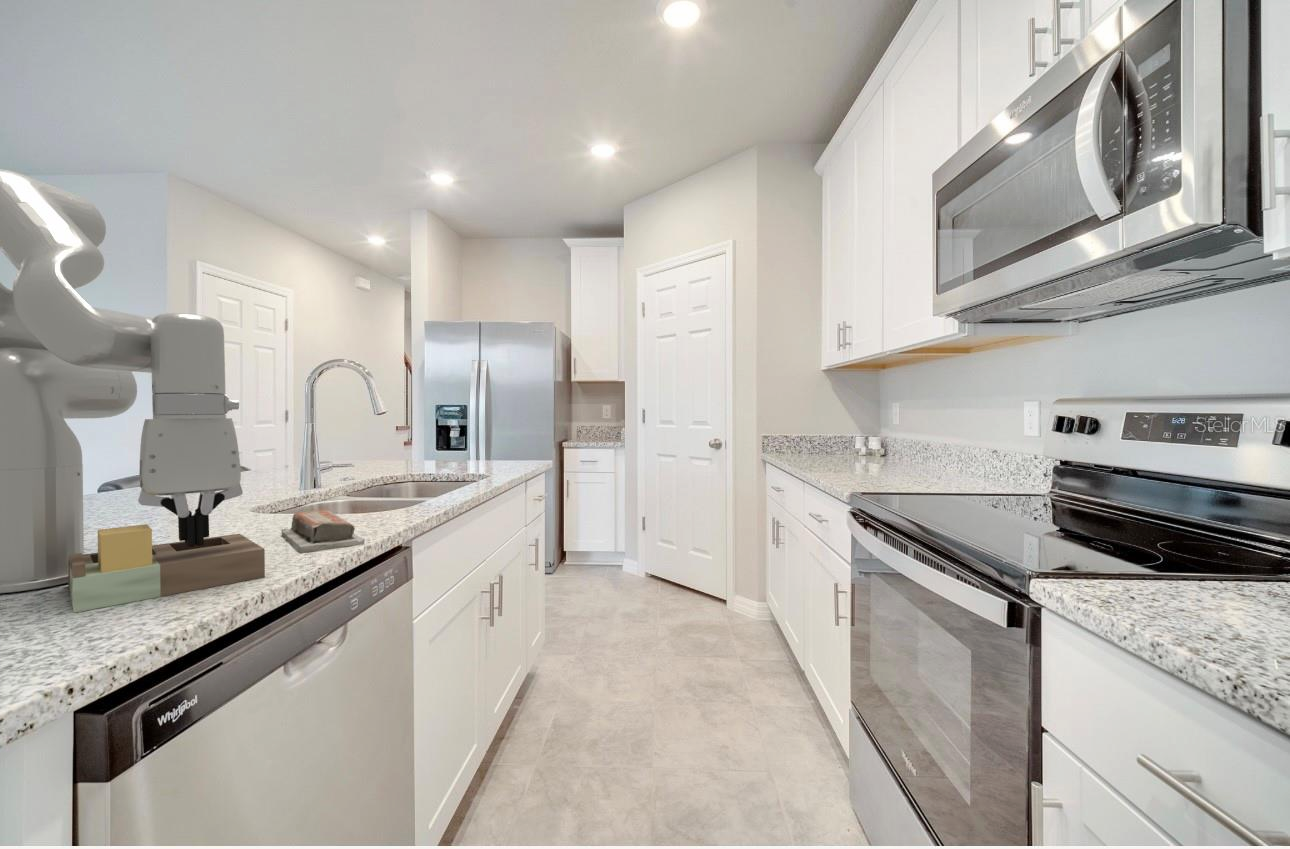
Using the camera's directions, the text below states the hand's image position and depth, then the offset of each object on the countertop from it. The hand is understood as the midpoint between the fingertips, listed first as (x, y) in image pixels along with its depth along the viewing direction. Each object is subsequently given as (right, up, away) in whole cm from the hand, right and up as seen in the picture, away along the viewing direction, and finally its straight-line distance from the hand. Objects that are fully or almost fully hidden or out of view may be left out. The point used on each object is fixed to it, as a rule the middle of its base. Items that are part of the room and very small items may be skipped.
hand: (194, 544), depth 72 cm
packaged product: (+1, -6, +26) cm, 27 cm away
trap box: (-4, -5, +1) cm, 7 cm away
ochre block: (-4, -2, -5) cm, 7 cm away
